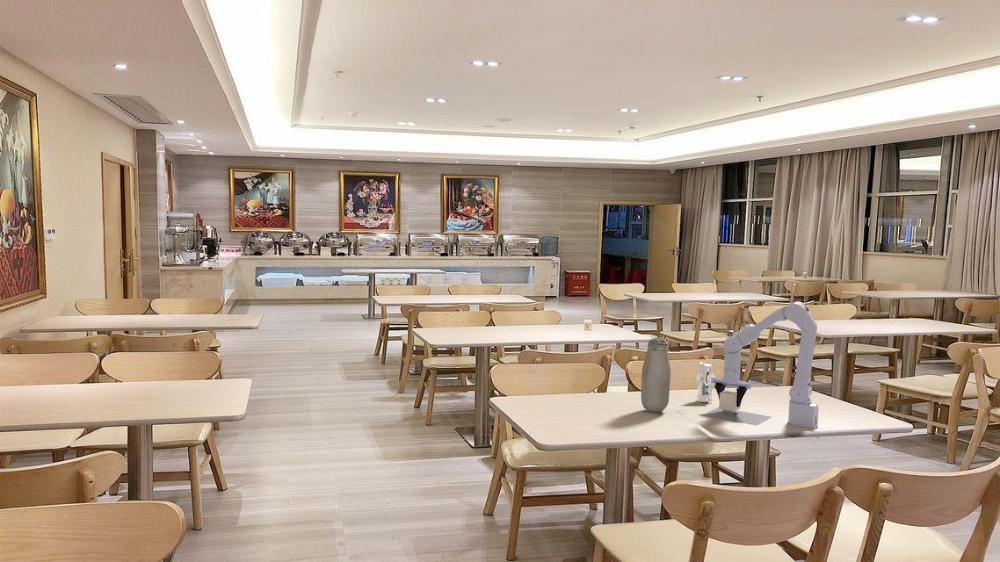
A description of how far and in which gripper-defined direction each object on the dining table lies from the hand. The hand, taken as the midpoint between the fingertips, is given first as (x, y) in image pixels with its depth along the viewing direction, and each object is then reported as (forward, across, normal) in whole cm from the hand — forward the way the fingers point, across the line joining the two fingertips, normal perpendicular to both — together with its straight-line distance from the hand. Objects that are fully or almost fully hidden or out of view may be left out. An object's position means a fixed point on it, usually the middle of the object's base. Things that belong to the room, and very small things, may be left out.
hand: (729, 404), depth 270 cm
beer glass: (+4, +16, -15) cm, 22 cm away
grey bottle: (+4, +23, +15) cm, 28 cm away
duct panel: (+4, -4, +3) cm, 6 cm away
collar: (+1, 0, 0) cm, 1 cm away
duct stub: (+4, 0, 0) cm, 4 cm away
